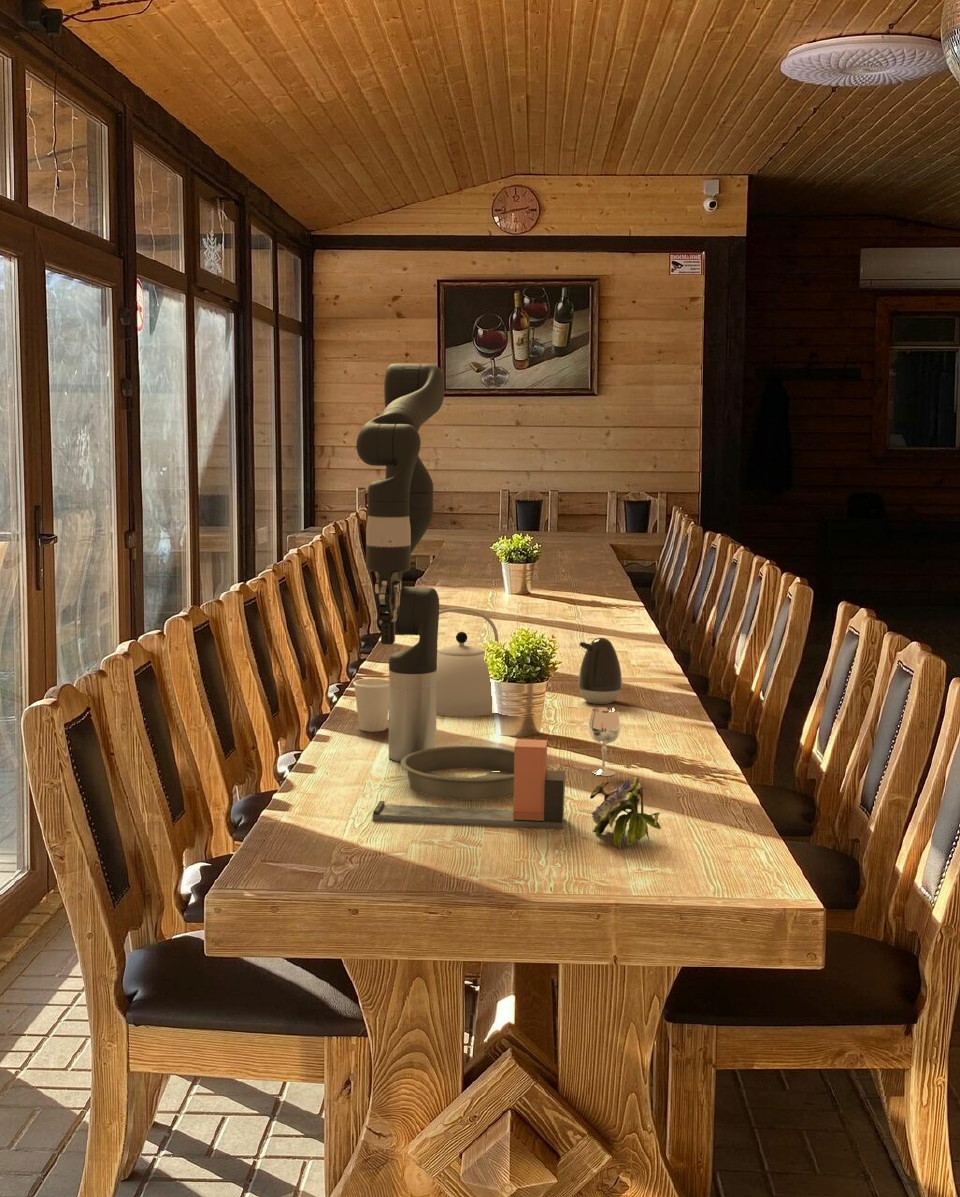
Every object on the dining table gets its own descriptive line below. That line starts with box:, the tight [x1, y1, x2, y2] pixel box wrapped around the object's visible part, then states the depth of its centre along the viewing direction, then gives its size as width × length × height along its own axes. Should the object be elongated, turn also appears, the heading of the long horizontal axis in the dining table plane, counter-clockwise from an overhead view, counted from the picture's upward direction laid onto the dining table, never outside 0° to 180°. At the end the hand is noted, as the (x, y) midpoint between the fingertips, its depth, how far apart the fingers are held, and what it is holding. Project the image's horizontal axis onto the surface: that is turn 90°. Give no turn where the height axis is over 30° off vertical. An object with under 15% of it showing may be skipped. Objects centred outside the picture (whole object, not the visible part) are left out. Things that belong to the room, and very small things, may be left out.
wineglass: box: [588, 706, 621, 777], centre depth 254 cm, size 6×6×12 cm
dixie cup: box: [352, 677, 389, 733], centre depth 288 cm, size 8×8×10 cm
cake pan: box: [400, 745, 514, 801], centre depth 246 cm, size 25×25×4 cm
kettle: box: [436, 607, 499, 717], centre depth 312 cm, size 25×23×23 cm
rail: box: [372, 769, 566, 830], centre depth 224 cm, size 6×31×8 cm, turn 84°
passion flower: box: [589, 776, 662, 850], centre depth 215 cm, size 11×11×12 cm
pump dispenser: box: [577, 637, 623, 705], centre depth 317 cm, size 10×10×15 cm
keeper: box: [512, 738, 548, 821], centre depth 222 cm, size 6×5×12 cm
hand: (388, 643), depth 233 cm, fingers closed
